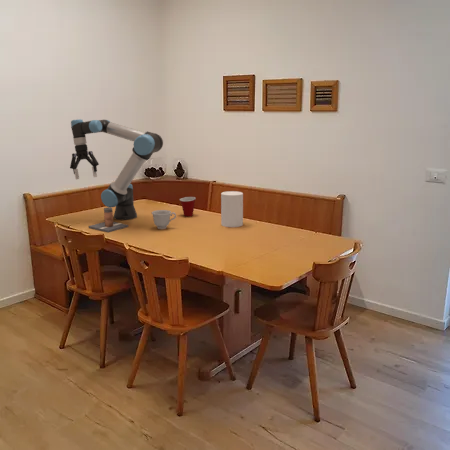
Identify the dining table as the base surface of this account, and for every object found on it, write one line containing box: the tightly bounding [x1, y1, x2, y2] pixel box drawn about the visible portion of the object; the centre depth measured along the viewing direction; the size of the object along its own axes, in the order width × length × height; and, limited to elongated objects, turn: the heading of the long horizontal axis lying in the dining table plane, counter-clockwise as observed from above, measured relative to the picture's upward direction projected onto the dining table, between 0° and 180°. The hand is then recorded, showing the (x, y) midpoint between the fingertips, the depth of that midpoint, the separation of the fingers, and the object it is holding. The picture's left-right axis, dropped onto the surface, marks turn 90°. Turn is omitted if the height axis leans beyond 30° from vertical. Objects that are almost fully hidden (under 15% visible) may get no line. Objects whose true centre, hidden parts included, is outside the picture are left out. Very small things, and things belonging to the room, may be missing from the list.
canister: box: [220, 190, 244, 228], centre depth 304 cm, size 14×14×20 cm
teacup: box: [151, 209, 177, 230], centre depth 297 cm, size 12×15×10 cm
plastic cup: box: [179, 196, 196, 218], centre depth 328 cm, size 11×11×12 cm
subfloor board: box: [88, 221, 129, 233], centre depth 300 cm, size 16×18×1 cm
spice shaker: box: [103, 207, 114, 227], centre depth 297 cm, size 5×5×11 cm
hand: (86, 178), depth 310 cm, fingers open, 13 cm apart
